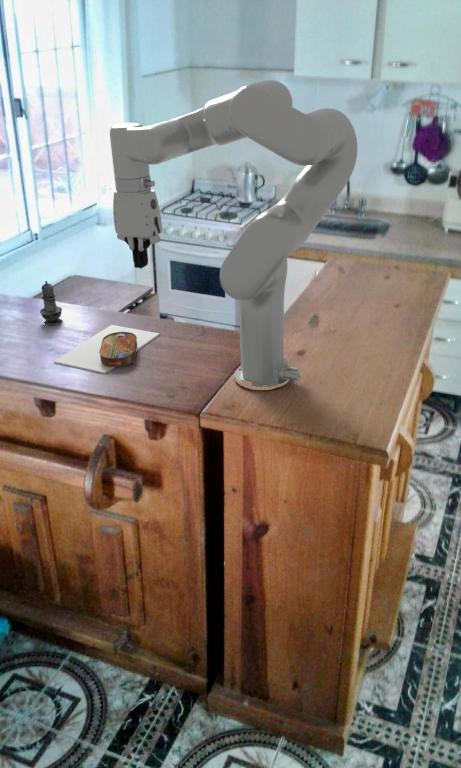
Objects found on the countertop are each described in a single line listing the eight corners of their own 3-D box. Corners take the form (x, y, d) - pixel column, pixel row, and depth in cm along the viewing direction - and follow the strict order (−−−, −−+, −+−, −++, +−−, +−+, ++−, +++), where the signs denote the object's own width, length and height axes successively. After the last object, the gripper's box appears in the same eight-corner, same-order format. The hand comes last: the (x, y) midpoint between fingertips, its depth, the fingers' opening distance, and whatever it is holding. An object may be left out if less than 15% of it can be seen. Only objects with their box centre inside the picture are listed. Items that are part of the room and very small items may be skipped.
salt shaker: (67, 323, 192) (60, 281, 186) (46, 328, 189) (39, 286, 184) (58, 316, 196) (52, 275, 191) (38, 322, 193) (31, 280, 188)
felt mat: (159, 334, 183) (159, 333, 183) (105, 373, 164) (105, 372, 164) (111, 326, 189) (111, 324, 189) (53, 362, 170) (53, 361, 170)
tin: (133, 357, 165) (96, 356, 164) (133, 369, 166) (97, 368, 166) (138, 330, 178) (104, 330, 178) (138, 342, 179) (105, 341, 179)
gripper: (171, 182, 152) (178, 265, 161) (114, 178, 159) (123, 258, 167) (153, 190, 147) (160, 275, 155) (94, 186, 153) (104, 267, 161)
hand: (141, 266), depth 161 cm, fingers closed
